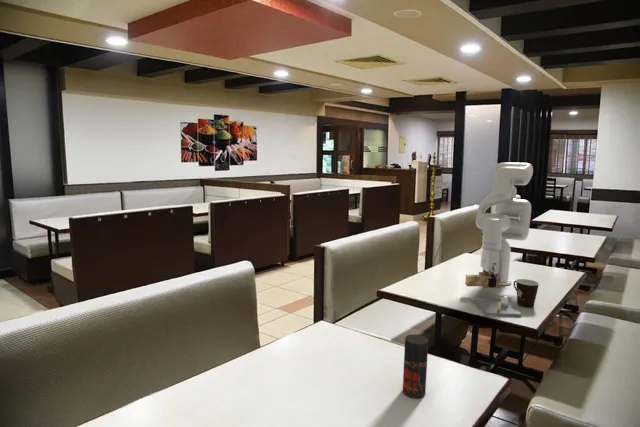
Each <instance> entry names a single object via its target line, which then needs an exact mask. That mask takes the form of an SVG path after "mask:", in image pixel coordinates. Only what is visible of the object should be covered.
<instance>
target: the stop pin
mask: <svg viewBox="0 0 640 427" xmlns="http://www.w3.org/2000/svg"><path fill="white" fill-rule="evenodd" d="M500 311H501V302H498V308H497V312H500Z"/></svg>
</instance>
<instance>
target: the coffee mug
mask: <svg viewBox="0 0 640 427" xmlns="http://www.w3.org/2000/svg"><path fill="white" fill-rule="evenodd" d="M539 286H540V283H539V282H538V281H535V280H533V279H528V278H527V279H526V278H519V279H516V280H514V281H513V288H514V290H515V291H516V304H517V306H519V307H522V308H528V309H529V308H534V307H535V302H536V298H537V293H538V289H539Z"/></svg>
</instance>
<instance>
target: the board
mask: <svg viewBox="0 0 640 427" xmlns="http://www.w3.org/2000/svg"><path fill="white" fill-rule="evenodd" d="M472 302H473V303H474V304H475V305H476V306H477V307H478V309H479V310H480V311H481V312H482V313H483V314H484V315H485V316H486V317H504V318H505V317H506V318H507V317H512V318H522V314H521V312H520V311H518V309H516V308H515V307H514V306H513V305H512V304H511V303H509V304H508V308H504V307H501V311H500V312H497V308H498V302H501V298H499V299H497V298H472Z"/></svg>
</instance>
